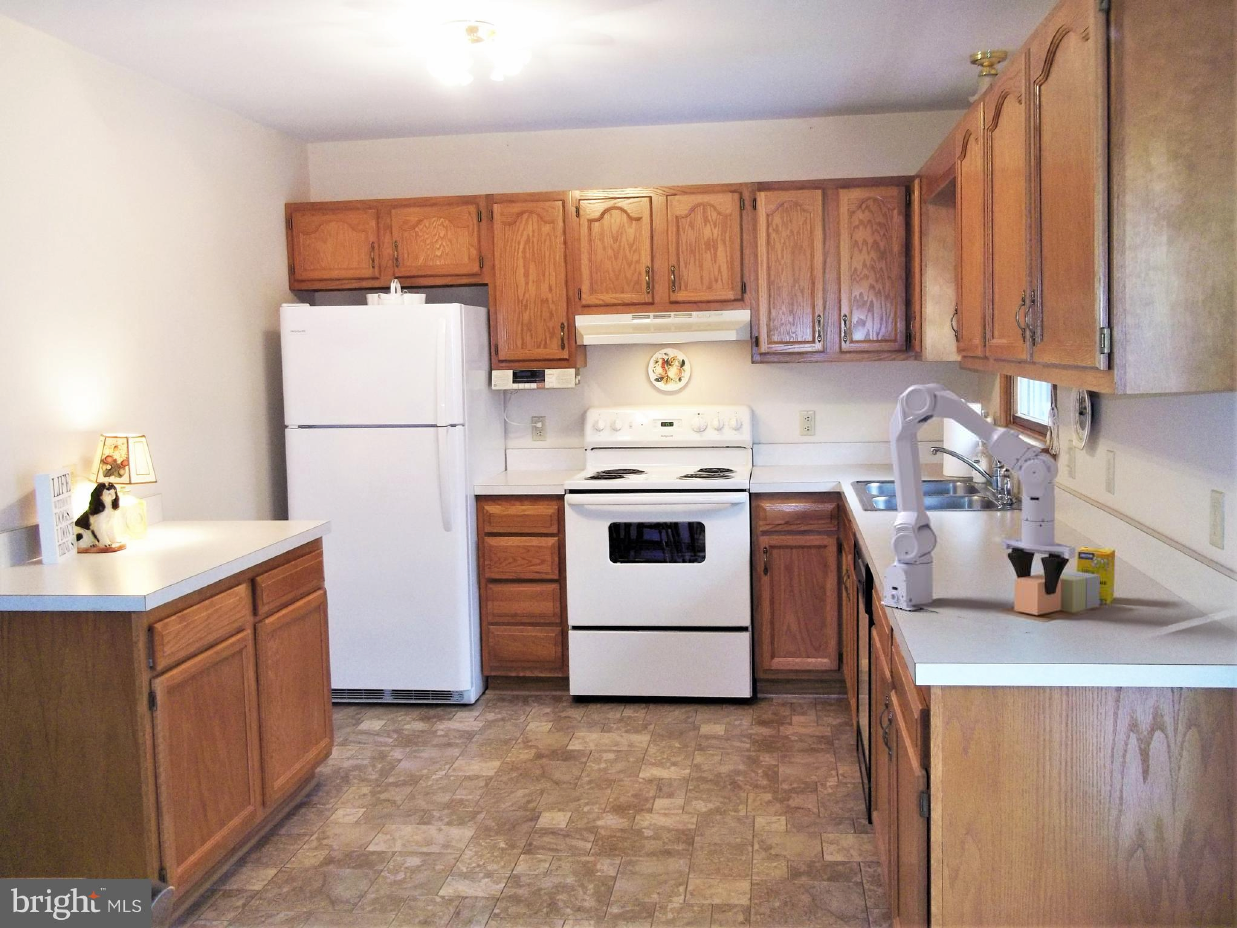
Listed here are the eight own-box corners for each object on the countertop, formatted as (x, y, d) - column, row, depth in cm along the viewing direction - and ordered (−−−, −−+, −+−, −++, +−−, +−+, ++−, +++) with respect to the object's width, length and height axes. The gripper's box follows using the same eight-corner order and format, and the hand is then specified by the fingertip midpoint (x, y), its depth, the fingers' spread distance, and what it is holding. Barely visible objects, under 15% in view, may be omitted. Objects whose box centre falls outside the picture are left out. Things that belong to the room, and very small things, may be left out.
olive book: (1072, 612, 206) (1073, 580, 206) (1035, 605, 213) (1036, 574, 212) (1085, 609, 208) (1086, 578, 208) (1048, 602, 215) (1049, 571, 214)
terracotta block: (1037, 614, 203) (1037, 582, 202) (1014, 610, 207) (1014, 578, 206) (1060, 609, 207) (1061, 578, 206) (1037, 605, 211) (1038, 574, 210)
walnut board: (1044, 627, 199) (1044, 622, 199) (993, 616, 208) (993, 611, 208) (1108, 612, 210) (1108, 606, 210) (1057, 602, 219) (1058, 597, 219)
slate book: (1086, 609, 208) (1087, 577, 208) (1049, 601, 215) (1050, 571, 215) (1099, 606, 211) (1099, 575, 210) (1062, 599, 217) (1062, 569, 217)
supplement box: (1075, 606, 216) (1076, 550, 215) (1082, 600, 221) (1083, 546, 220) (1108, 609, 212) (1109, 553, 211) (1114, 603, 217) (1115, 548, 216)
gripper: (1086, 521, 201) (1085, 594, 202) (1019, 513, 213) (1018, 582, 215) (1062, 525, 197) (1061, 600, 199) (995, 517, 210) (994, 587, 211)
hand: (1037, 591), depth 206 cm, fingers closed on terracotta block, 5 cm apart
